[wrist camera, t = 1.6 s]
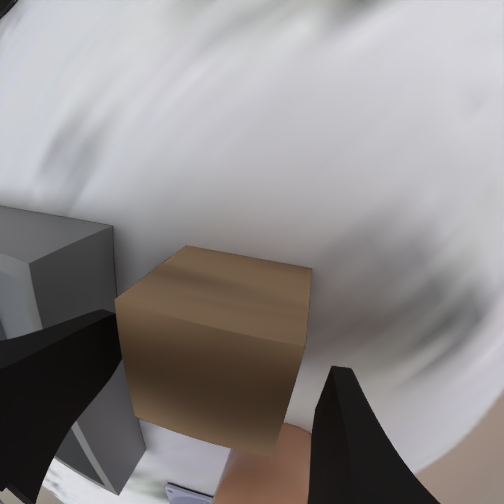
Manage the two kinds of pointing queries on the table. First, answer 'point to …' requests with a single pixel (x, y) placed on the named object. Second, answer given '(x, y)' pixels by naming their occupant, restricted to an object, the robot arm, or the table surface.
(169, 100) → the table surface
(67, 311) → the tote
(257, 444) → the walnut cube
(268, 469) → the terracotta cylinder
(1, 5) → the milk frother
